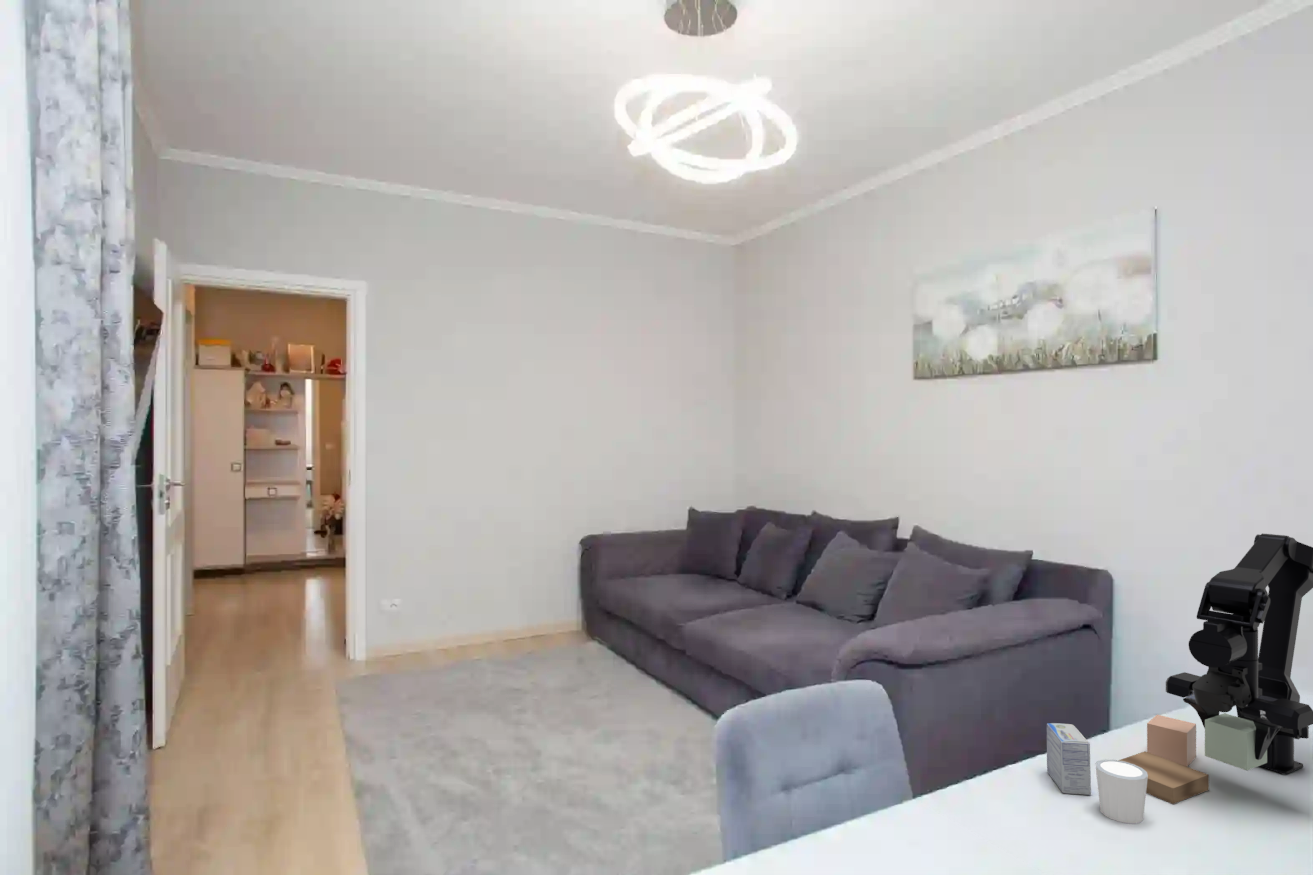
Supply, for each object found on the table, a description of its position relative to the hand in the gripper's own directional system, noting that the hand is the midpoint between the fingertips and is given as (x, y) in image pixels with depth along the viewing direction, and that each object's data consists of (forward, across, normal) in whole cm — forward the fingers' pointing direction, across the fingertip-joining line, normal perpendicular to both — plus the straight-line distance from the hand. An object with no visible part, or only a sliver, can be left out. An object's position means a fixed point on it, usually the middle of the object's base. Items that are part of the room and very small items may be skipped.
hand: (1235, 751), depth 121 cm
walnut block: (+6, -7, -9) cm, 13 cm away
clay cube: (+6, -12, +4) cm, 14 cm away
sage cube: (+1, 0, 0) cm, 1 cm away
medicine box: (+7, -14, -22) cm, 27 cm away
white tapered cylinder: (+6, -4, -24) cm, 25 cm away
